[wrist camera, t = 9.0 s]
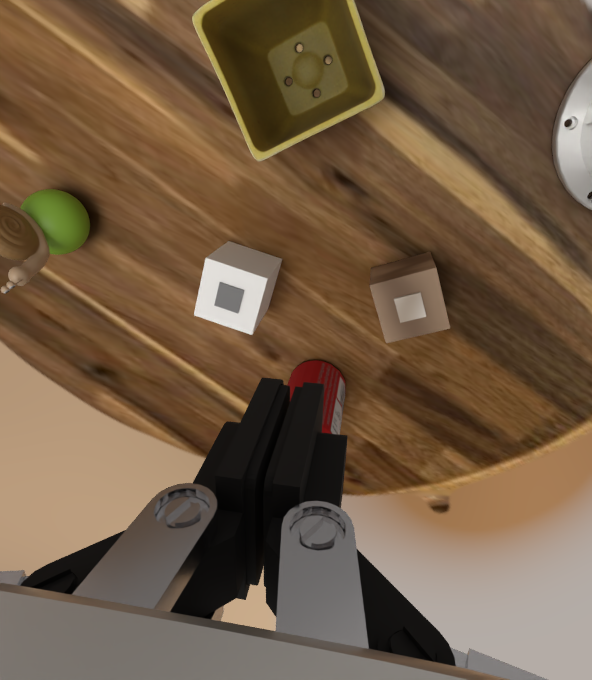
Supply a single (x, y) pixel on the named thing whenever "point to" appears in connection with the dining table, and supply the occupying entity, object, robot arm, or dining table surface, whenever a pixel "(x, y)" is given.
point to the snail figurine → (40, 231)
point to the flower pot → (289, 66)
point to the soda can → (332, 390)
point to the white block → (237, 286)
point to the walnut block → (408, 298)
